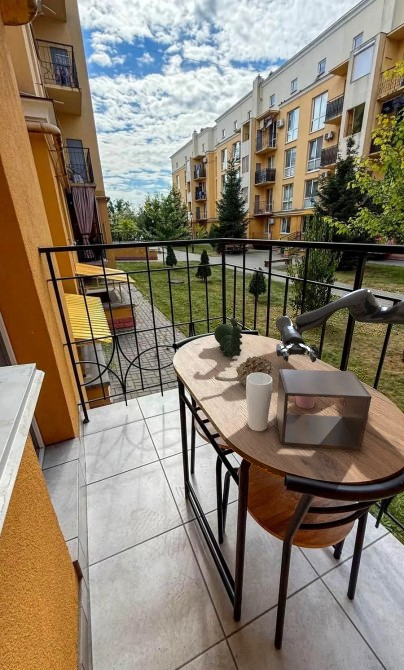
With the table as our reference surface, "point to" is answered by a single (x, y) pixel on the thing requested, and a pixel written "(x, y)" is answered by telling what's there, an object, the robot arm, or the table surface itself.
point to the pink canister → (305, 401)
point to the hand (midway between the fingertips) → (300, 359)
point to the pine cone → (250, 369)
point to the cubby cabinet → (316, 427)
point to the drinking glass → (258, 400)
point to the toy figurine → (229, 338)
